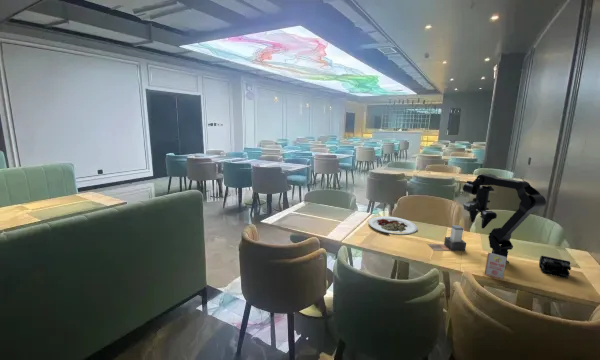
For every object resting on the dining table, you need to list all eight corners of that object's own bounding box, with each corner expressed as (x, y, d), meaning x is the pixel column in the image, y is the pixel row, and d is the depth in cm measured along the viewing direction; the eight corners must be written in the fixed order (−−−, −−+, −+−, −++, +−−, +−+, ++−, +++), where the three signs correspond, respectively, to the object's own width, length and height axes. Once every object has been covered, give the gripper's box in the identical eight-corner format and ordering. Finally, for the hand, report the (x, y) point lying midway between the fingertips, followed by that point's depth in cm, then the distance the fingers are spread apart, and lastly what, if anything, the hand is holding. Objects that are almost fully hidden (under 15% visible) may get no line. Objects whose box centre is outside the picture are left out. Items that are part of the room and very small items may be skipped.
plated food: (415, 240, 163) (415, 235, 162) (363, 230, 175) (363, 225, 175) (418, 223, 189) (418, 219, 188) (373, 216, 202) (373, 211, 201)
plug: (460, 249, 150) (463, 228, 147) (452, 249, 150) (455, 228, 148) (456, 246, 154) (459, 225, 151) (448, 245, 154) (451, 225, 151)
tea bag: (485, 270, 131) (488, 251, 129) (502, 275, 127) (506, 255, 125) (484, 274, 128) (488, 254, 126) (502, 279, 124) (506, 258, 122)
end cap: (565, 272, 132) (568, 259, 130) (569, 279, 126) (573, 265, 124) (537, 266, 137) (540, 253, 135) (540, 272, 131) (543, 259, 129)
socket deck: (465, 252, 148) (467, 243, 147) (433, 252, 148) (434, 242, 147) (457, 246, 156) (458, 236, 155) (426, 245, 156) (428, 236, 155)
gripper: (457, 192, 158) (453, 218, 161) (477, 202, 140) (472, 231, 143) (476, 192, 158) (472, 219, 162) (500, 202, 140) (494, 232, 143)
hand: (477, 225), depth 152 cm, fingers open, 9 cm apart
